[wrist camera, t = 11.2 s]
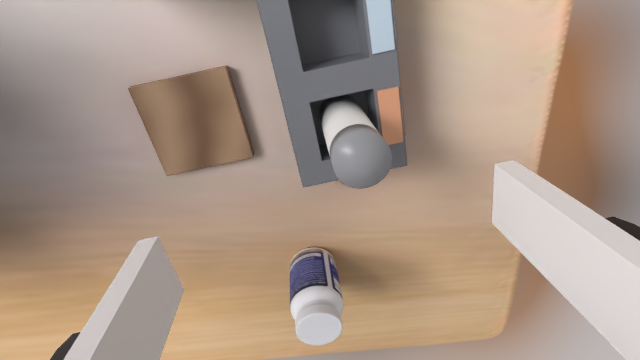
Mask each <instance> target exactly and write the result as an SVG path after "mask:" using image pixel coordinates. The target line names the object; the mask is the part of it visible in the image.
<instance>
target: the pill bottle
mask: <svg viewBox="0 0 640 360" xmlns="http://www.w3.org/2000/svg"><path fill="white" fill-rule="evenodd" d="M290 310H291V314H292V316H293V318H294V319H295V330H296V335H297V337H298V338H299V339H300V340H301V341H302V342H304V343H306V344H309V345H324V344H327V343H330V342H332V341H334V340H335V339H336V338H337V337H338V336H339V335H340V333H341V331H342V321H341V313H342V311H343V299H342V293H341V288H340V283H339V278H338V272H337V267H336V263H335V259H334V257H333V256H332V255H331V254H330V253H329V252H328V251H326V250H324V249H322V248H317V247H311V248H306V249H303V250H301V251H299V252H298V253H297V254H296V255H295V256H294V257H293V258H292V260H291V263H290Z"/></svg>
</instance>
